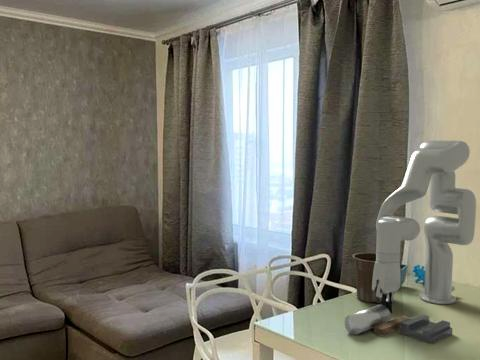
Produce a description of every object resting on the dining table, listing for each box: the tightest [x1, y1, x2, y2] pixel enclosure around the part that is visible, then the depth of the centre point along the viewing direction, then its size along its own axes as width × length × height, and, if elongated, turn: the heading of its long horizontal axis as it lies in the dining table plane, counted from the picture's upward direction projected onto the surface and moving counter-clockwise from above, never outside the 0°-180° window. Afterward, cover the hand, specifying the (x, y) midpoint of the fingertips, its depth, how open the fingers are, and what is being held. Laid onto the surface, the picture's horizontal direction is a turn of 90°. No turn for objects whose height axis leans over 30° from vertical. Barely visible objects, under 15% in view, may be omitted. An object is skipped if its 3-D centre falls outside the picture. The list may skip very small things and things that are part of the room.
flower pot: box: [400, 263, 409, 288], centre depth 205 cm, size 9×9×9 cm
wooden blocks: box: [373, 315, 412, 337], centre depth 162 cm, size 16×13×2 cm
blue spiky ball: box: [412, 264, 425, 286], centre depth 212 cm, size 11×6×10 cm
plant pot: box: [352, 252, 381, 304], centre depth 189 cm, size 16×16×16 cm
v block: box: [398, 314, 453, 345], centre depth 154 cm, size 12×11×4 cm
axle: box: [344, 304, 391, 336], centre depth 158 cm, size 16×6×6 cm, turn 131°
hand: (386, 312), depth 165 cm, fingers closed
